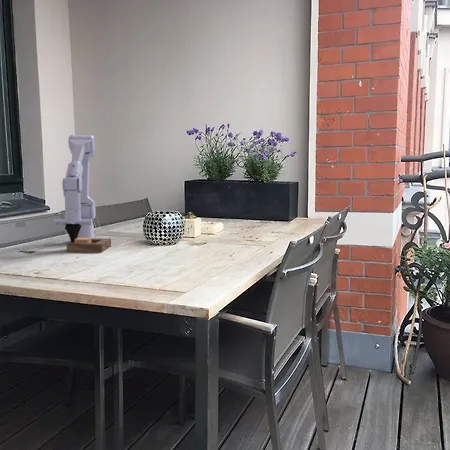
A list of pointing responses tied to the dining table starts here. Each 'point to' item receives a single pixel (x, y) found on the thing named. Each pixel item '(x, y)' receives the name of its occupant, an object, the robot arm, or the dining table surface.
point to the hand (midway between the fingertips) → (73, 243)
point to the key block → (83, 240)
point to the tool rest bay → (90, 246)
